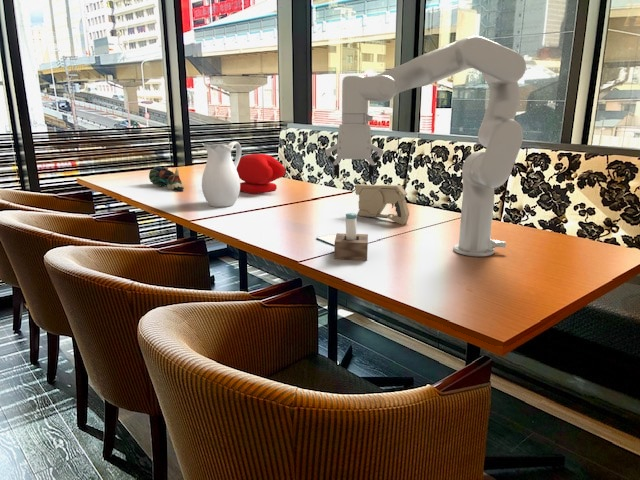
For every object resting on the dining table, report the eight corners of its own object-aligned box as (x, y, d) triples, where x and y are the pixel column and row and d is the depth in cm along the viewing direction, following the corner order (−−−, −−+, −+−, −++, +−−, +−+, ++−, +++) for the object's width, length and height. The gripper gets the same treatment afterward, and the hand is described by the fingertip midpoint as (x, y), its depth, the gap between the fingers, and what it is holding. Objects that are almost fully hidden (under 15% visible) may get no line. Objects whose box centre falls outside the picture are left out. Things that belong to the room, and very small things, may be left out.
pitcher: (224, 210, 224) (221, 145, 216) (195, 205, 232) (190, 143, 224) (257, 200, 243) (255, 140, 236) (229, 197, 252) (226, 139, 244)
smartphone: (362, 247, 172) (333, 236, 184) (362, 244, 172) (333, 233, 184) (343, 251, 167) (315, 239, 180) (343, 248, 167) (315, 237, 180)
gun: (410, 223, 201) (409, 185, 198) (405, 225, 198) (404, 186, 195) (361, 219, 217) (359, 183, 214) (356, 220, 215) (354, 184, 212)
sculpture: (169, 160, 287) (195, 171, 266) (166, 183, 290) (192, 196, 270) (145, 158, 278) (171, 170, 257) (143, 182, 281) (168, 196, 261)
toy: (263, 158, 246) (228, 151, 267) (264, 198, 252) (229, 188, 273) (289, 156, 256) (253, 149, 277) (288, 194, 262) (253, 185, 283)
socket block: (367, 250, 166) (367, 234, 165) (367, 260, 157) (367, 242, 155) (336, 249, 167) (336, 233, 166) (334, 259, 158) (334, 241, 156)
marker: (356, 250, 163) (356, 213, 160) (356, 253, 160) (356, 215, 157) (346, 250, 163) (346, 213, 160) (345, 253, 160) (345, 215, 157)
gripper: (384, 119, 154) (382, 176, 158) (326, 119, 155) (326, 175, 160) (384, 120, 147) (382, 180, 151) (324, 120, 148) (324, 179, 153)
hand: (353, 178), depth 156 cm, fingers open, 9 cm apart
